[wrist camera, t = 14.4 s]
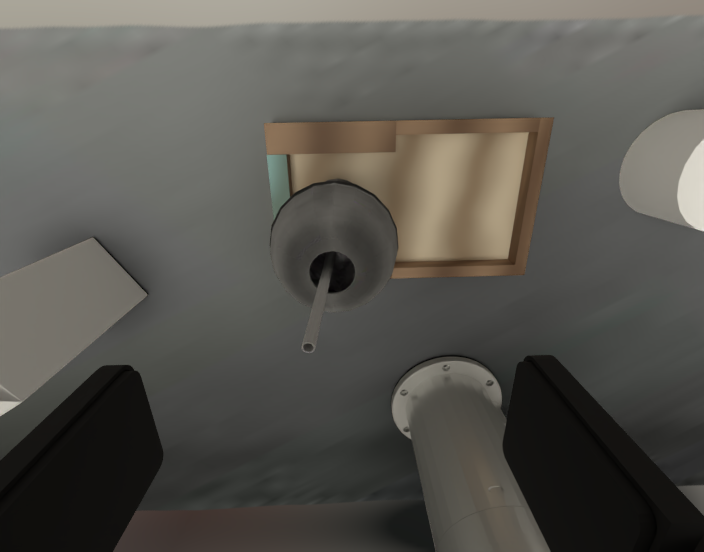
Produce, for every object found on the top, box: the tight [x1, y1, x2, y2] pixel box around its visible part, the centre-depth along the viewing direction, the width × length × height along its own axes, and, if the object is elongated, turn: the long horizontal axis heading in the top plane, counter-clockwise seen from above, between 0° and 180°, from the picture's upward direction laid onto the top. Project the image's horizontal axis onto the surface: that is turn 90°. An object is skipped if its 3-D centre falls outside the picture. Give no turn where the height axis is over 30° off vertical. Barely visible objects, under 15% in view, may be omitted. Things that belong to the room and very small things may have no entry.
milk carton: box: [0, 238, 147, 416], centre depth 26 cm, size 7×7×19 cm
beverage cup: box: [270, 178, 399, 353], centre depth 21 cm, size 7×7×20 cm
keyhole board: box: [264, 118, 554, 278], centre depth 30 cm, size 22×13×3 cm, turn 91°
